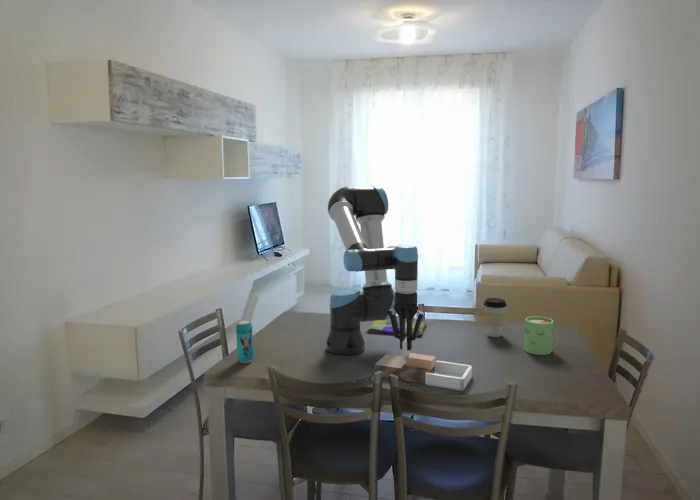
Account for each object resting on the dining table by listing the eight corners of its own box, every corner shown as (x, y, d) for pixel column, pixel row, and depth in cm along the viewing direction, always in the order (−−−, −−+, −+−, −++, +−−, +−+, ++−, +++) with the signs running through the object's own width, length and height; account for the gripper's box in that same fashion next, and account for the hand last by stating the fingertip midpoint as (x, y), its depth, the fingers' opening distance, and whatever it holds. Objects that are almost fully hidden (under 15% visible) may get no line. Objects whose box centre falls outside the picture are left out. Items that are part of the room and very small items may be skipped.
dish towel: (375, 322, 253) (375, 317, 253) (428, 327, 246) (428, 321, 245) (364, 334, 236) (364, 327, 236) (421, 339, 229) (421, 332, 229)
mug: (519, 350, 212) (520, 320, 210) (531, 344, 220) (532, 314, 218) (551, 358, 204) (552, 327, 202) (562, 351, 211) (564, 320, 209)
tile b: (418, 367, 185) (418, 358, 185) (422, 362, 189) (422, 354, 189) (431, 369, 183) (431, 360, 183) (435, 364, 187) (435, 356, 187)
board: (374, 375, 189) (374, 364, 188) (386, 364, 199) (386, 354, 198) (425, 383, 182) (425, 372, 181) (434, 372, 191) (435, 361, 191)
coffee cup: (506, 339, 226) (507, 303, 224) (482, 337, 228) (483, 302, 226) (504, 332, 235) (506, 297, 233) (482, 331, 237) (483, 297, 235)
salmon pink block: (405, 365, 187) (405, 357, 187) (410, 361, 191) (410, 352, 191) (418, 367, 185) (418, 358, 185) (422, 363, 189) (422, 354, 189)
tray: (425, 385, 181) (425, 373, 180) (436, 371, 192) (436, 360, 192) (463, 391, 175) (463, 379, 175) (472, 376, 187) (472, 365, 186)
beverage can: (240, 365, 200) (238, 325, 198) (235, 360, 205) (234, 321, 203) (255, 362, 203) (254, 322, 200) (250, 357, 208) (249, 318, 206)
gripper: (383, 291, 185) (384, 359, 188) (421, 295, 179) (420, 365, 183) (392, 287, 192) (391, 352, 195) (428, 290, 186) (427, 357, 190)
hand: (405, 358), depth 189 cm, fingers closed
